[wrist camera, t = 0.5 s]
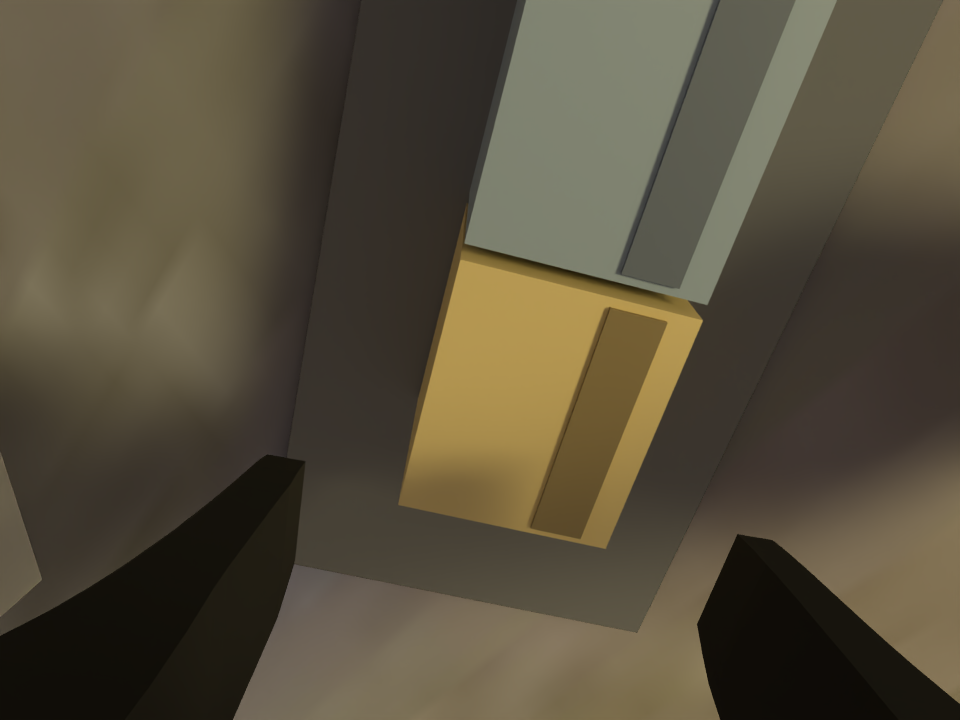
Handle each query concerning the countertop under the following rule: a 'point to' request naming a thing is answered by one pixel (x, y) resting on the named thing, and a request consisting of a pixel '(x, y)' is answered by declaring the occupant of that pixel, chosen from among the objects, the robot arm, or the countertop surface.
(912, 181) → the countertop surface
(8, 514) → the grater
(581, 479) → the stub
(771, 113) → the block
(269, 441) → the countertop surface
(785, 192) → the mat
